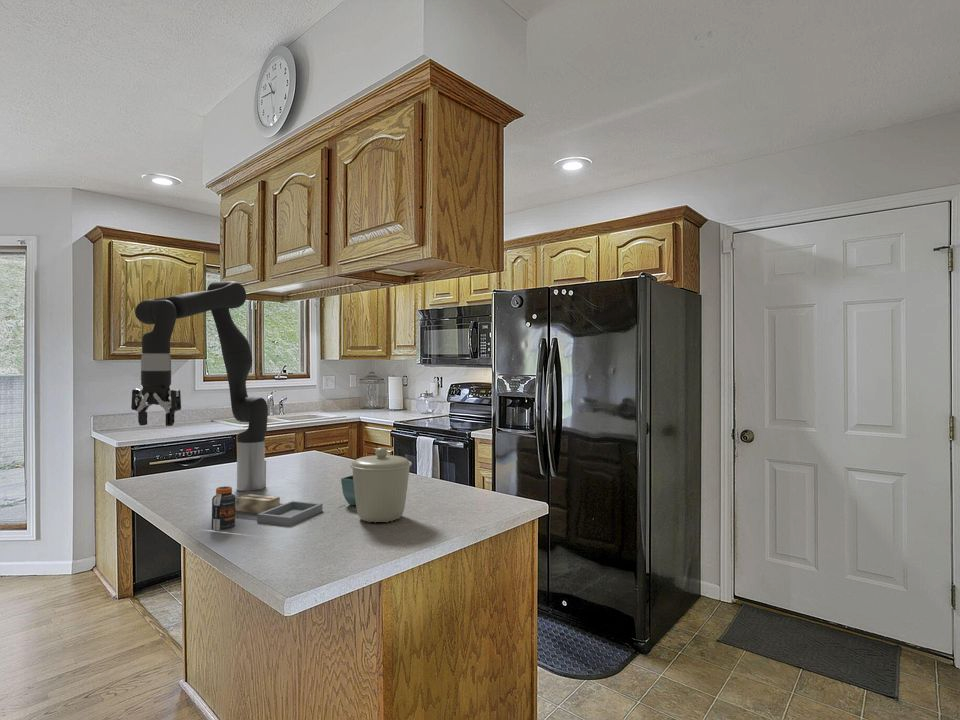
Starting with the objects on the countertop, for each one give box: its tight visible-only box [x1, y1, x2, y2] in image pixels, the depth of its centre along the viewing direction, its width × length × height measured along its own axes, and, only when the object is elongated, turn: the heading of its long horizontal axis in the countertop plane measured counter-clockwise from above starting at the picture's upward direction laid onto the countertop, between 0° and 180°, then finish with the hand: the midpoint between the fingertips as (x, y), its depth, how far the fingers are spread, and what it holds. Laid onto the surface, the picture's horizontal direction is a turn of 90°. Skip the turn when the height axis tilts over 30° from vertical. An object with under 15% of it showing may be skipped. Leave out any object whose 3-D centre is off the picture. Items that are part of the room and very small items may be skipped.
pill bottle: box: [211, 485, 237, 532], centre depth 153 cm, size 6×6×11 cm
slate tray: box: [256, 500, 323, 527], centre depth 164 cm, size 16×11×3 cm
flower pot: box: [340, 474, 356, 506], centre depth 179 cm, size 9×9×9 cm
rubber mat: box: [235, 503, 284, 522], centre depth 170 cm, size 18×14×1 cm
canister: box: [349, 447, 413, 524], centre depth 164 cm, size 18×18×21 cm
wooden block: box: [235, 493, 281, 513], centre depth 170 cm, size 12×5×4 cm, turn 72°
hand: (156, 425), depth 158 cm, fingers open, 8 cm apart
